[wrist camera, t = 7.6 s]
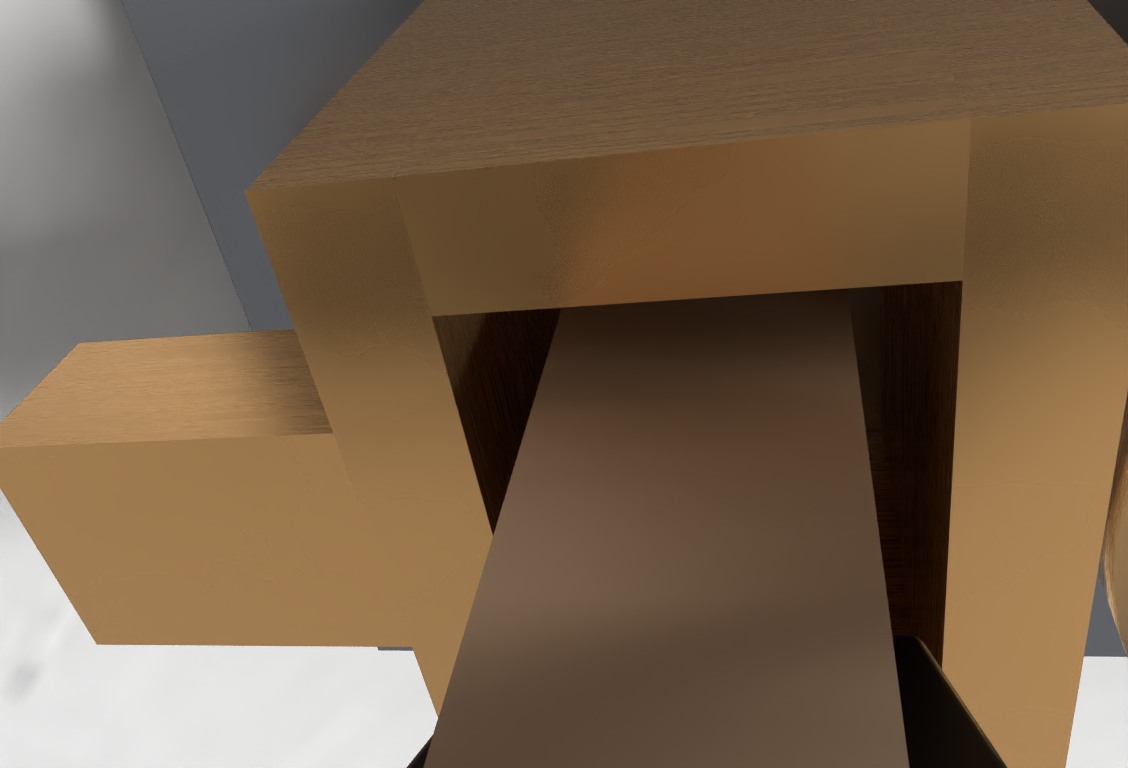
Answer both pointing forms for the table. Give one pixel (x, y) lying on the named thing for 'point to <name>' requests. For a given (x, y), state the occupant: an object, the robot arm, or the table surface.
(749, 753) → the wedge
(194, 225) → the table surface
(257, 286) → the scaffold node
